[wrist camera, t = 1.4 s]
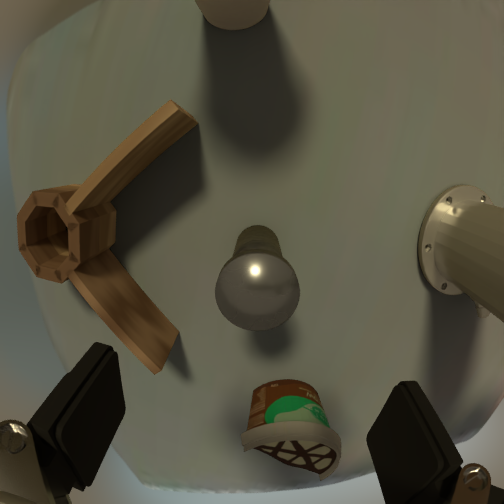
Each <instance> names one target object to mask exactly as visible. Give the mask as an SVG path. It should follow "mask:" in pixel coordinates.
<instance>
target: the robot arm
mask: <svg viewBox="0 0 504 504" xmlns="http://www.w3.org/2000/svg"><path fill="white" fill-rule="evenodd" d="M418 256H419V262H420V266H421V269H422V272H423V275H424V276H425V278H426V280H427V281H428V282H429V283H430V284H431V285H432V287H434V288H435V289H437V290H438V291H439V292H441V293H444V294H447V295H459V294H462V293H466V294H467V295H468V296H470V297H471V299H472V301H475V306H476V310H477V314H478V317H479V318H486V317H487V316H488V315H489V314H490V312H491V313H492V314H493V315H495V316H496V317H497V318H499V319H500V320H501V321H502V322H504V208H501V207H497V206H494V204H493V203H492V201H491V199H490V198H489V197H488V195H487V194H486V193H485V192H484V191H482V190H480V189H479V188H477V187H474V186H470V185H457V186H453V187H451V188H449V189H447V190H445V191H444V192H443V193H441V194H440V195H439V196H438V197H437V198H436V199H435V201H434V202H433V203H432V205H431V206H430V208H429V210H428V211H427V213H426V216H425V218H424V220H423V223H422V227H421V230H420V235H419V242H418ZM125 409H126V407H125V401H124V395H123V389H122V382H121V375H120V368H119V360H118V354H117V352H115V351H114V350H113V347H112V346H109V345H106V344H102V343H99V342H95V343H94V344H93V345H92V346H91V347H90V349H89V350H88V351H87V352H86V353H85V355H84V356H83V357H82V358H81V359H80V361H79V362H78V363H77V364H76V366H75V367H74V368H73V369H72V370H71V372H69V373H67V374H66V375H65V376H64V377H63V378H62V379H61V381H60V382H59V383H58V385H57V386H56V387H55V388H54V389H53V391H52V392H51V393H50V395H49V396H48V397H47V398H46V400H45V401H44V402H43V404H42V405H41V406H40V407H39V409H38V410H37V411H36V413H35V414H34V415H33V417H32V418H31V419H30V421H29V422H28V423H27V425H25V424H23V423H22V422H20V421H17V420H5V421H2V422H0V504H72V502H71V500H70V497H69V495H68V494H69V493H70V491H71V489H72V487H74V488H76V489H78V490H81V491H84V489H85V487H86V486H88V487H89V486H91V485H92V483H93V480H94V478H95V476H96V474H97V472H98V469H99V467H100V465H101V463H102V461H103V459H104V457H105V454H106V452H107V450H108V448H109V446H110V444H111V442H112V440H113V437H114V435H115V433H116V431H117V429H118V427H119V425H120V423H121V421H122V419H123V417H124V414H125ZM366 441H367V445H368V448H369V451H370V454H371V457H372V460H373V464H374V467H375V470H376V473H377V476H378V480H379V483H380V487H381V490H382V493H383V496H384V500H385V504H504V489H501V488H498V487H496V486H493V485H491V477H490V474H489V472H488V471H487V469H486V468H484V467H483V466H481V465H480V464H476V463H471V464H467V465H465V466H464V467H463V468H461V466H460V465H461V464H462V463H463V460H462V458H461V456H460V454H459V452H458V450H457V449H456V447H455V445H454V443H453V441H452V440H451V438H450V436H449V434H448V433H447V431H446V429H445V427H444V426H443V424H442V422H441V420H440V419H439V417H438V415H437V414H436V412H435V410H434V409H433V407H432V405H431V404H430V402H429V400H428V399H427V397H426V395H425V394H424V392H423V391H422V389H421V387H420V386H419V384H418V383H417V382H416V381H401V382H400V383H399V384H398V385H396V386H395V387H394V388H393V390H392V392H391V394H390V396H389V398H388V400H387V401H386V403H385V405H384V407H383V409H382V410H381V412H380V414H379V416H378V417H377V419H376V421H375V422H374V424H373V426H372V427H371V429H370V431H369V432H368V434H367V438H366Z"/></svg>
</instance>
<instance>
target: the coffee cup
mask: <svg viewBox="0 0 504 504" xmlns="http://www.w3.org/2000/svg"><path fill="white" fill-rule="evenodd" d="M195 2H196V4H197V5H198V7H199V9H200V10H201V12H202V13H203V15H204V17H205V18H206V20H207V21H208V22H209V23H211V24H212V25H214V26H215V27H218V28H221V29H225V30H241V29H245V28H249V27H251V26H253V25H255V24H257V23H258V22H260V21H261V20H262V19H263V18H264V16H265V15H266V13H267V10H268V7H269V3H270V0H195Z"/></svg>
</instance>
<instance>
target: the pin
mask: <svg viewBox="0 0 504 504" xmlns="http://www.w3.org/2000/svg"><path fill="white" fill-rule="evenodd" d="M215 297H216V302H217V305H218V307H219V309H220V311H221V313H222V314H223V315H224V316H225V317H226V318H227V319H228V320H229V321H230V322H231V323H233V324H234V325H236V326H238V327H240V328H243V329H246V330H251V331H263V330H269V329H272V328H275V327H277V326H279V325H281V324H282V323H284V322H285V321H286V320H287V319H289V318H290V316H291V315H292V314H293V313H294V311H295V309H296V307H297V305H298V302H299V297H300V288H299V283H298V279H297V277H296V274H295V271H294V269H293V268H292V266H291V265H290V264H289V262H288V261H287V260H286V259H284V258H283V256H282V252H281V249H280V245H279V241H278V238H277V236H276V235H275V233H274V232H273V231H272V230H271V229H269V228H267V227H265V226H261V225H255V226H250V227H248V228H246V229H245V230H244V231H242V233H241V234H240V235H239V237H238V239H237V243H236V246H235V250H234V253H233V257H232V258H231V259H230V260H228V261H227V263H226V264H225V265H224V266H223V268H222V270H221V272H220V274H219V277H218V280H217V283H216V288H215Z"/></svg>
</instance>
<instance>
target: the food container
mask: <svg viewBox="0 0 504 504" xmlns="http://www.w3.org/2000/svg"><path fill="white" fill-rule="evenodd" d="M241 440H242V446H244V452H245V451H247V450H249V449H252V448H254V449H257V450H260V451H262V452H264V453H266V454H268V455H270V456H272V457H274V458H275V459H277V460H279V461H281V462H282V463H284V464H287V465H290V466H294V467H299V468H303V469H307V470H309V471H312V472H315V473H318V474H319V477H320V481H321V480H323V479H325V478H326V477H328V476H329V475H331V474H332V473H333V472H334V471H335V469H336V468H337V466H338V464H339V460H340V458H341V440H340V437H339V436H338V434H337V433H336V432H335V431H333V430H332V429H330V426H329V424H328V421H327V418H326V415H325V412H324V410H323V407H322V404H321V401H320V398H319V396H318V393H317V392H316V390H315V389H314V388H313V387H312V386H310V385H309V384H307V383H305V382H302V381H298V380H290V379H284V380H276V381H272V382H268V383H266V384H263V385H261V386H259V387H258V388H256V389H255V390H253V396H252V403H251V409H250V415H249V421H248V427H247V431H246V432H244V433H242V434H241Z"/></svg>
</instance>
